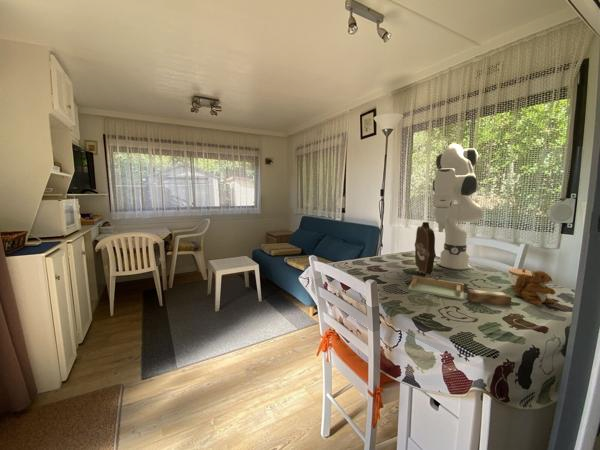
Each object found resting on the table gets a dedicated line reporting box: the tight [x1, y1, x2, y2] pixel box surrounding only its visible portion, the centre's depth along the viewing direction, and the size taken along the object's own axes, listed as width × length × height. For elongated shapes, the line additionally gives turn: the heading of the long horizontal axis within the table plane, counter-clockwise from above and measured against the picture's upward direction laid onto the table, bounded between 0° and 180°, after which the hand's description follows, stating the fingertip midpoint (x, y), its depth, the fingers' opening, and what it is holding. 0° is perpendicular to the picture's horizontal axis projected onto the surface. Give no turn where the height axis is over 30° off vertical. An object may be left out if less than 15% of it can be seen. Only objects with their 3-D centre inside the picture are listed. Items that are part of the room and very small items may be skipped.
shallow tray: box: [407, 274, 465, 301], centre depth 117 cm, size 11×22×5 cm, turn 57°
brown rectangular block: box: [466, 288, 512, 306], centre depth 106 cm, size 14×5×4 cm, turn 73°
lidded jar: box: [508, 268, 532, 287], centre depth 121 cm, size 11×11×9 cm
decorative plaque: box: [414, 221, 437, 277], centre depth 137 cm, size 30×3×30 cm, turn 168°
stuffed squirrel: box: [512, 270, 556, 307], centre depth 107 cm, size 10×14×13 cm
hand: (441, 230), depth 122 cm, fingers open, 8 cm apart
